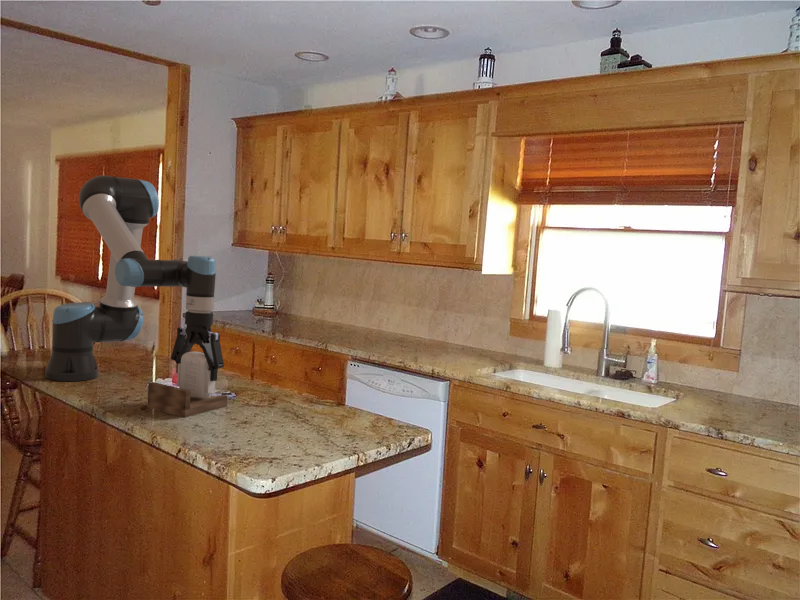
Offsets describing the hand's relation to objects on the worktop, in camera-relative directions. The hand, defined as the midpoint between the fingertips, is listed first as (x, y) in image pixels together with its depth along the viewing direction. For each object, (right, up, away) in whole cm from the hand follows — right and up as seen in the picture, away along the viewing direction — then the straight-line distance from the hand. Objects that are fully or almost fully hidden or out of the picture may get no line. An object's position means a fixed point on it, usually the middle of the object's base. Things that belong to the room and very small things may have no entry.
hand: (195, 388), depth 183 cm
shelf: (-1, -5, -2) cm, 5 cm away
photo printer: (0, -2, 0) cm, 2 cm away
